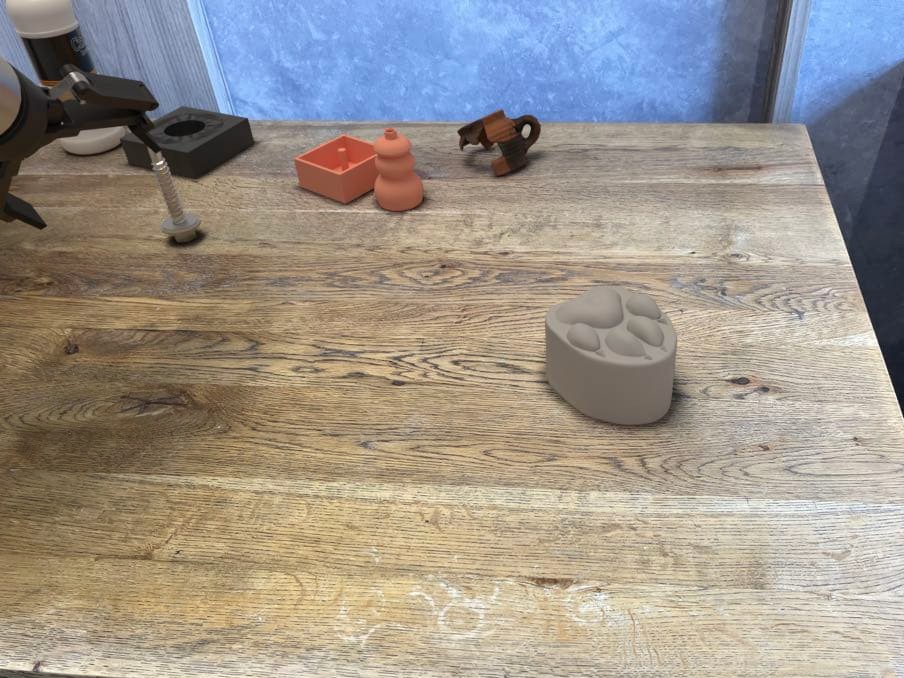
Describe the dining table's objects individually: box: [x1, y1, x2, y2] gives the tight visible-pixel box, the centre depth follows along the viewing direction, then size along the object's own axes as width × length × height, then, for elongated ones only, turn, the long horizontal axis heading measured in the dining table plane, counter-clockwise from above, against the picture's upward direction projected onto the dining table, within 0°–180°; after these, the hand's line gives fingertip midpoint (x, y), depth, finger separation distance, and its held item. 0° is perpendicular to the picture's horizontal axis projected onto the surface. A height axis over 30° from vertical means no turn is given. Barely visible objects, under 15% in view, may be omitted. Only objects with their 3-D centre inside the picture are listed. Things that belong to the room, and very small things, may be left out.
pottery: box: [293, 127, 424, 212], centre depth 110 cm, size 18×10×10 cm, turn 54°
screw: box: [147, 146, 202, 244], centre depth 101 cm, size 13×5×5 cm
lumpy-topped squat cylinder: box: [544, 285, 678, 426], centre depth 78 cm, size 10×13×9 cm
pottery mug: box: [456, 109, 542, 177], centre depth 118 cm, size 12×10×8 cm
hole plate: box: [120, 105, 255, 180], centre depth 123 cm, size 13×13×4 cm
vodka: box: [5, 0, 126, 156], centre depth 118 cm, size 9×9×30 cm
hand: (94, 178), depth 82 cm, fingers open, 13 cm apart
